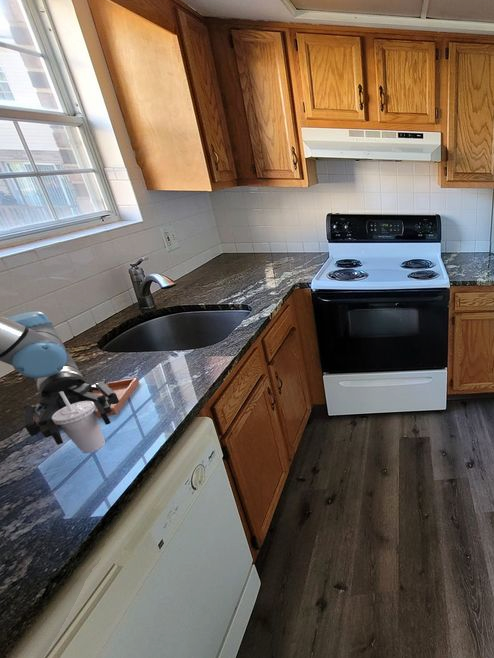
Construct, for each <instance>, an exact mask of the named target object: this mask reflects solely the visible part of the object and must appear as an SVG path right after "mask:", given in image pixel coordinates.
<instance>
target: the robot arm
mask: <svg viewBox="0 0 494 658" xmlns="http://www.w3.org/2000/svg"><path fill="white" fill-rule="evenodd" d="M0 362H2V363H5V364H7V365H10V366H12V367H13V369H14V370H15V371H17V372H18V373H19V374H20V375H22V376H24V377H28V378H31V379H34V382H35V383H36V388H37V391H38V393H39V397H40V400H39V401H38V403H37V404H33V405H32V404H31V405H30V404H27V405H23V406H21V407H20V410H22V412H23V414H24V423H23V426H24V428H25V429H26V431H27V433H28V435H30V436H31V437H34V436H36V435H39V433H40V432H41V433H42V435H43V437H44V438H49V437H52V438H53V440H54V441H55V443H56V445H57V446H60V445H62V444H64V441H63V439H62V436H61V432H60V430H59V427H58V425H57V426H56V425H55V424H54V422H53V420H52V416H53V414H54V413H55V412H57V411H58V410H60V409H62V408H64V407H66V404H65V402H64V401H63V399H62V397H61V395H60V393H59V392H61V391H63V392H64V394H65V396H66V398H67V400H68V401H69V403H70V405H71V404H74V403H77V402H82V401H92V402H94V404H95V405H96V408H97V409H98V411H99V413H100V415H101V417H100V418H102V420H103V422H104V424H105V426H107V425H110V424H111V423H112V422H111V420H110V419H109V415H108V416H107V415H106V414H108V413H110V412H112V409H111V407H110V405H111V404H117V403H119V400H118V398H117V396H116V394H115V392H114V391H113V390H112V389H111V388H109V386H108V384H107V383H108V382H107V380H106V379H105V378H102V379H100V380H98V381H97V382H96V383H95V384H90V383H87V381H86V379H85V378H84V376H83V374H82V373H81V372H80V371H81V370H80V369H79V367H78V365H77V363H76V361H75V360H74V358H73V357H72V356H71V354H70V352H69V351H68V349H67V348H66V346H65V345H64V342H63V341H62V339H61V337H60V336H59V334H58V332H57V330H56V329H55V327H54V325H53V322H52V321H51V320H50V319H49V318H48V316H47V315H46V313H44V312H42V311H28V312H24V313H19V314H16V315H13V316H9V317H5V316H2V315H0ZM94 390H96V391H99V393H102V395H101V396H99V395H96V394H93V393H92V392H93V391H94ZM105 397H106V398H105ZM42 410H44V411H43V413H42V414H41V413H40V412H41V411H42ZM40 415H41V416H40Z"/></svg>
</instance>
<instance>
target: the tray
mask: <svg viewBox="0 0 494 658" xmlns="http://www.w3.org/2000/svg"><path fill="white" fill-rule="evenodd" d="M107 384H108V386H109V388H111V389H112V390H113V391H114V392H115V394H116V396H117V398H118V400H119V403H117V404H111V405H110V407H111V409H112V412H110V413H108V414H106V415H107V416H108V417H109V416H113V415H117V414H118V413H119V411H120V410H121V409H122V407H123V406H124V405H125V403H126V402H127V401H128V399H129V398H130V397H131V395H132V394H133V393H134V391H135V390H136V388H138V386H139V385H140V381H139V379H138V377H133V378H132V377H131V378H126V379H122V380H115V381H110V382H109V381H108V382H107ZM92 393H93V394H96V395H99V396H101V395H102V393H99V391H96V390H94V391H93V392H92ZM105 398H106V397H105ZM95 411H96V414H97V418H98V419H99V418H102V417H101V415H100V413H99V411H98V409H97V408H96V409H95ZM55 425H56V426H57V427H58V426H59V425H58V424H55Z"/></svg>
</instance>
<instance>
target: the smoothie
mask: <svg viewBox="0 0 494 658" xmlns="http://www.w3.org/2000/svg"><path fill="white" fill-rule="evenodd" d="M59 393H60V395H61V397H62V399H63V401H64V402H65V404H66V407H64V408H62V409H60V410H58V411H57V412H55V413H54V414H53V416H52V420H53V422H54V424H58V425H57V426H58V427H60V428H59V429H61V430H62V431H63V432H64V433H65V434H66V435H67V437H69V439H70V440H71V442H73V444H74V445H75V446H76V447H77V449H79V450H80V451H81V452H82V454H90V453H94V452H96V451H98V450H100V449H102V448H103V447H104V446H105V444H106V442H105V437H104V435H103V431H102V427H101V425H100V421H99V417H98V418H97V414H96V411H95V409H96V405H95V404H94V402H92V401H82V402H77V403H74V404H71V405H70V403H69V401H68V400H67V398H66V396H65V394H64V392H63V391H61V392H59Z"/></svg>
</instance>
